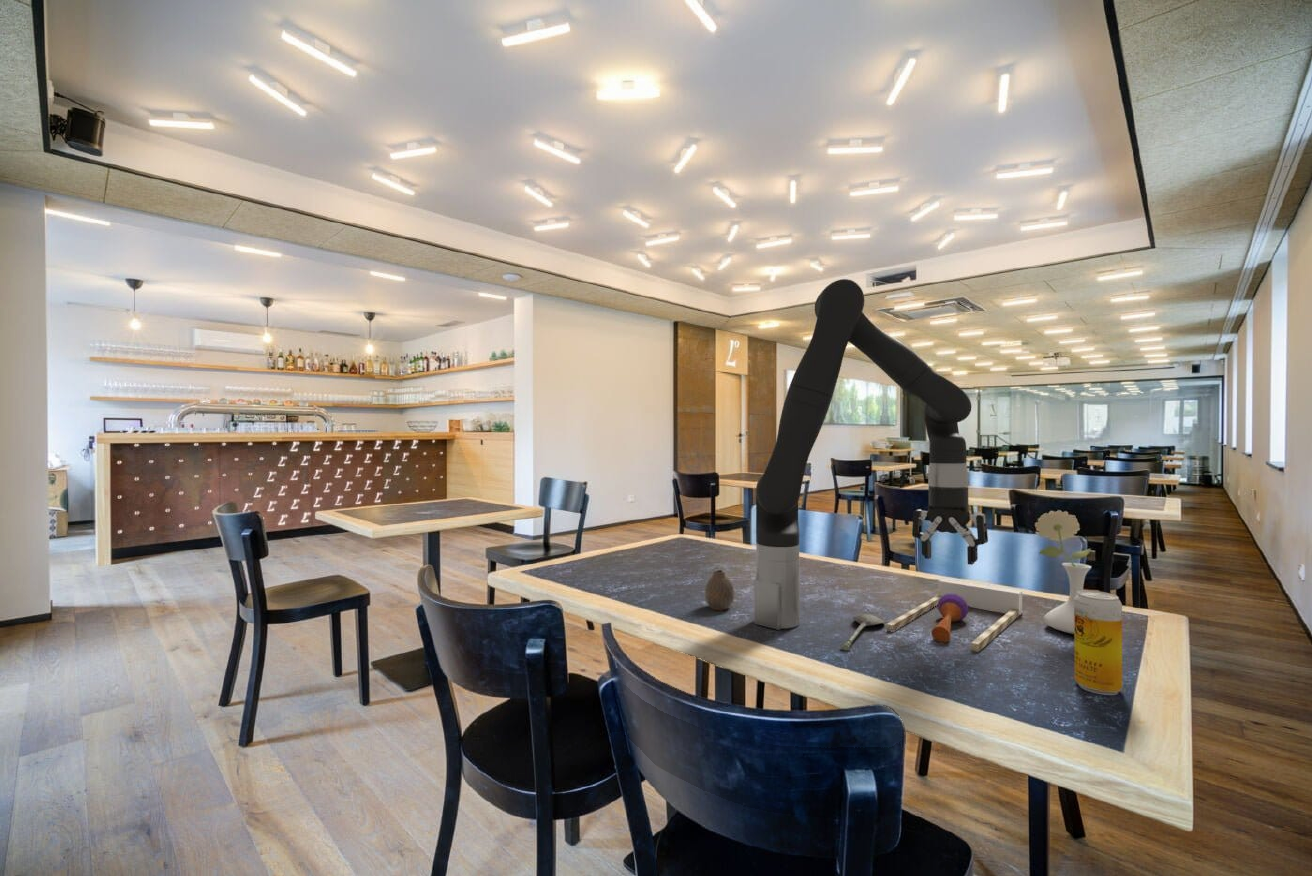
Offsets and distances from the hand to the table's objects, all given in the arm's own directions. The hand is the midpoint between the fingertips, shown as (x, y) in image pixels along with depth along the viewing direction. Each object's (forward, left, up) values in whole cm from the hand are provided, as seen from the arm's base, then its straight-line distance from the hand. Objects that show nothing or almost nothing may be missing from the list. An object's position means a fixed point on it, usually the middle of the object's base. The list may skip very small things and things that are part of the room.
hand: (949, 561), depth 122 cm
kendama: (0, 0, -15) cm, 15 cm away
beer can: (-15, -27, -14) cm, 34 cm away
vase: (-22, +44, -14) cm, 51 cm away
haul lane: (+4, 0, -14) cm, 15 cm away
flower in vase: (+16, -19, -14) cm, 29 cm away
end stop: (+21, 0, -14) cm, 26 cm away
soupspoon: (-17, +12, -15) cm, 25 cm away
